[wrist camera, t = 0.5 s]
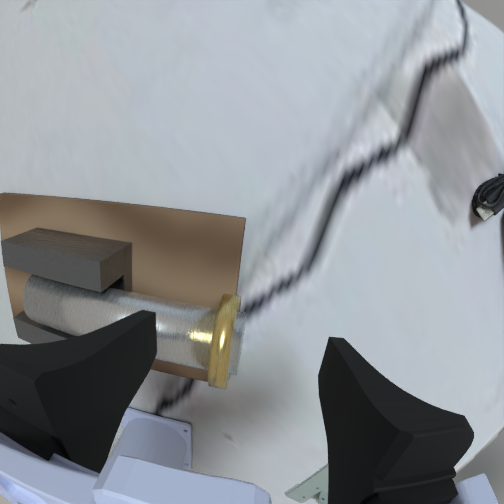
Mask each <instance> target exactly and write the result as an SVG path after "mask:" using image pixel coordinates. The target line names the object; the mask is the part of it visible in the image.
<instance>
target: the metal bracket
mask: <svg viewBox="0 0 504 504" xmlns="http://www.w3.org/2000/svg"><path fill="white" fill-rule="evenodd" d="M285 495H286V496H287V497H289V498H291V499H293V500H295V501H298V502H300V503H303V502H305V501H307V500H308V499H310V498H314V499H316V501H317V503H318V504H328V464H327V465H325V466H324V467H323V468H322V469H320V470H319V471H317V472H316V473H315V474H313V475H312V476H311V477H309V478H308V479H306V480H305V481H304V482H302V483H301V484H297V485H295V486H294V487H292V488H291V489H289V490H288V491H286V492H285Z"/></svg>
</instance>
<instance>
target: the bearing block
mask: <svg viewBox="0 0 504 504" xmlns="http://www.w3.org/2000/svg"><path fill="white" fill-rule="evenodd" d="M1 246H2V255H3V263H4V266H6V267H9V268H13V269H16V270H19V271H22V272H26V273H29V274H31V275H32V274H33V275H36V276H40V277H43V278H47V279H50V280H54V281H58V282H62V283H65V284H69V285H73V286H77V287H81V288H85V289H89V290H93V291H97V292H103V291H104V290H105V289H106V288H108V287H111V288H115V289H120V290H124V291H129V292H132V242H125V241H119V240H113V239H106V238H100V237H94V236H88V235H81V234H75V233H69V232H63V231H56V230H50V229H44V228H38V227H37V228H34V229H32V230H29V231H26V232H23V233H21V234H18V235H15V236H13V237H10V238H7V239H5V240H2V241H1ZM13 319H14V323H15V327H16V331H17V335H18V338H20V339H23V340H25V341H27V342H29V343H31V344H41V343H49V342H54V341H60V340H65V339H69V338H73V337H77V336H74V335H71V334H68V333H65V332H62V331H60V330H57V329H54V328H51V327H49V326H46V325H43V324H41V323H38V322H35V321H33V320H31V319H29V318H28V316H27V315H26V313H25V311H24V310H23V311H22V312H20V313H19V314H17V315H16V316H15V317H13Z"/></svg>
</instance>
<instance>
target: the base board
mask: <svg viewBox="0 0 504 504" xmlns="http://www.w3.org/2000/svg"><path fill="white" fill-rule="evenodd" d="M245 222H246V218H243V217H236V216H229V215H221V214H213V213H206V212H198V211H190V210H182V209H173V208H165V207H156V206H147V205H138V204H129V203H120V202H110V201H100V200H90V199H79V198H68V197H56V196H44V195H31V194H17V193H1V194H0V229H1V241H2V240H5V239H7V238H10V237H13V236H15V235H18V234H21V233H23V232H26V231H29V230H32V229H34V228H37V227H38V228H44V229H50V230H56V231H63V232H69V233H75V234H81V235H88V236H94V237H100V238H106V239H113V240H119V241H125V242H132V292H134V293H138V294H143V295H148V296H153V297H158V298H163V299H168V300H174V301H179V302H184V303H190V304H195V305H201V306H207V307H213V308H218V307H219V304H220V301H221V298H222V296H223V294H224V293H225V294H232V295H237V286H238V278H239V270H240V262H241V254H242V246H243V238H244V230H245ZM4 267H5V274H6V281H7V287H8V292H9V298H10V303H11V308H12V312H13V317H15V316H16V315H17V314H19V313H20V312H22V311H23V310H24V307H23V292H24V288H25V285H26V283H27V281H28V279H29V278H30V276H31V274H29V273H26V272H22V271H19V270H16V269H13V268H9V267H6V266H4ZM151 369H152V370H156V371H160V372H165V373H169V374H173V375H178V376H182V377H187V378H192V379H197V380H202V381H207V382H208V370H205V369H199V368H194V367H189V366H185V365H180V364H175V363H171V362H167V361H162V360H158V359H154V362H153V364H152V367H151Z"/></svg>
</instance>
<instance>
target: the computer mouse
mask: <svg viewBox="0 0 504 504" xmlns="http://www.w3.org/2000/svg"><path fill="white" fill-rule="evenodd" d="M498 175H499V176H498V177H495V178H492V179H490V180H487V181H486V182H484V183H483V184H482V185H480V186H479V188H478V189H477V190H476V192H475V195H474V196H473V199H472V206H473V211H474V214H475V215H476V216H477V217H481V218H482V219H483V221H486V220H487V219H488V218H489V217H491V216H492V215H496V214H497V213H498V212H499V211H501V210H502V209H503V208H504V174H500V173H499V174H498Z"/></svg>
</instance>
